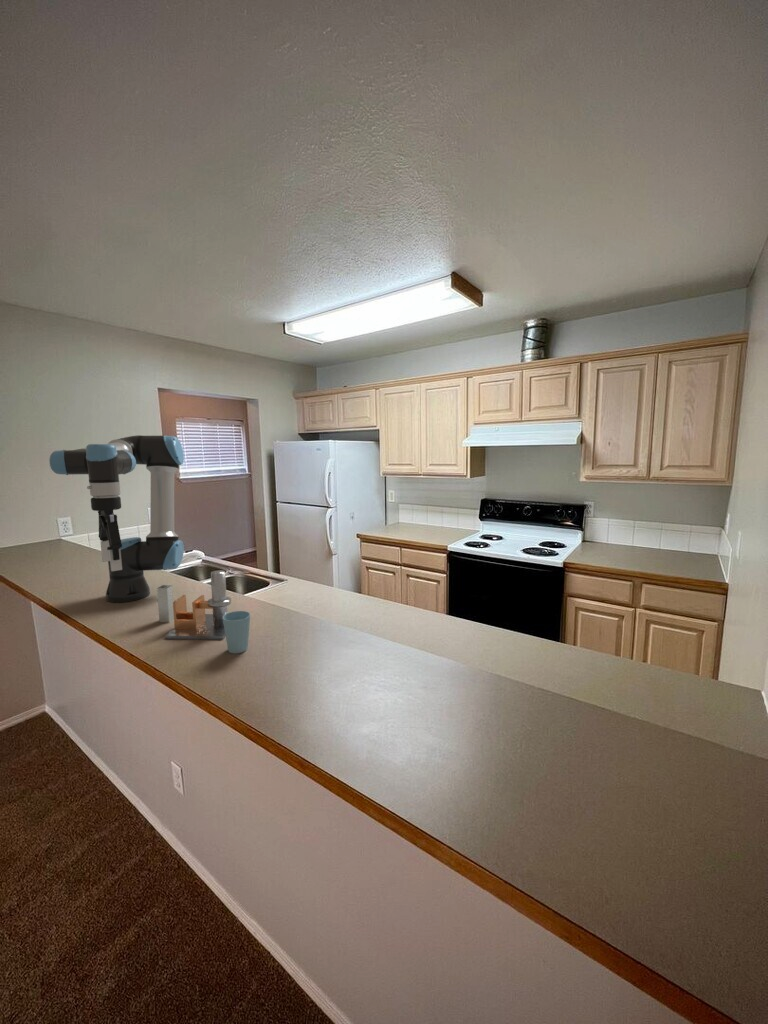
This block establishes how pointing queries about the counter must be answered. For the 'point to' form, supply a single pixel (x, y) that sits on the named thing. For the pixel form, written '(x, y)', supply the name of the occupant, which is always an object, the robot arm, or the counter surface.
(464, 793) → the counter surface
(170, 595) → the light grey block
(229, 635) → the cup
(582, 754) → the counter surface
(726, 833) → the counter surface
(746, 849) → the counter surface
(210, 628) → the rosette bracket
